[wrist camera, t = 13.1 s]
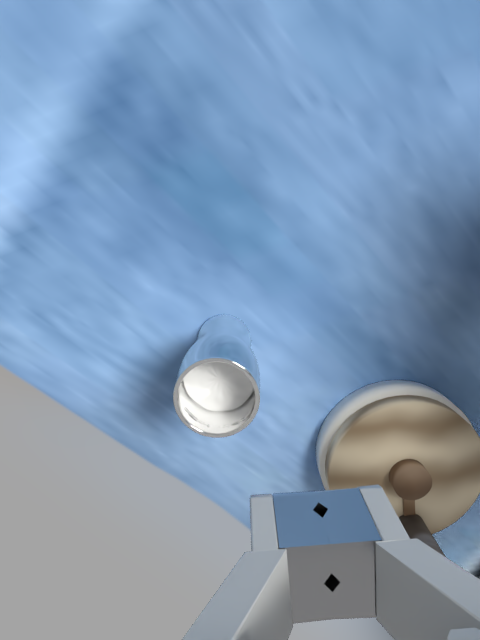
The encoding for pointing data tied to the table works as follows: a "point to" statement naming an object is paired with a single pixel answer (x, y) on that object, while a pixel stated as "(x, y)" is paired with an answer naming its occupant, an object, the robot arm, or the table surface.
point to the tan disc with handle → (410, 461)
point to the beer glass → (218, 379)
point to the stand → (364, 398)
